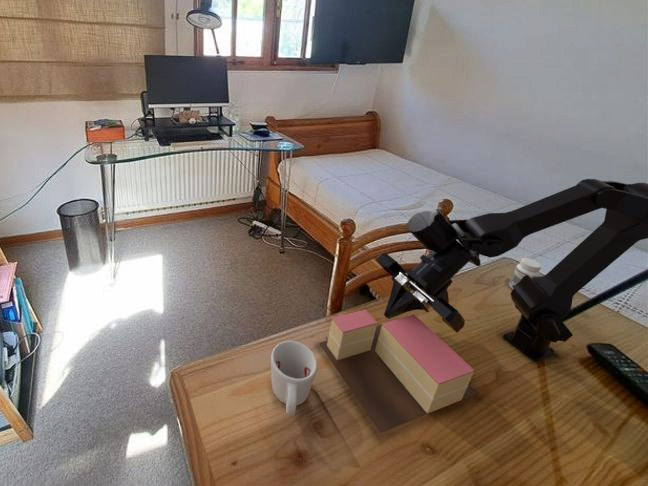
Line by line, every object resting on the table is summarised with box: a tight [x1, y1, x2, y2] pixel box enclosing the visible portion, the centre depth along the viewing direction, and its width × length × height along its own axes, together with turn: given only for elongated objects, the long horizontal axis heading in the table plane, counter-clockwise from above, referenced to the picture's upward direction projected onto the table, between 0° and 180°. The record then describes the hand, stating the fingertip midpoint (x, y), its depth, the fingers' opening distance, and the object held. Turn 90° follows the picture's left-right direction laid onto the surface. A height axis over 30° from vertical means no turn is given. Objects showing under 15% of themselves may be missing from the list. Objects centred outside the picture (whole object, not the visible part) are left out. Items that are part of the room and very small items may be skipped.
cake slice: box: [327, 309, 378, 360], centre depth 68 cm, size 8×4×8 cm, turn 108°
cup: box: [270, 340, 318, 417], centre depth 59 cm, size 11×8×8 cm
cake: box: [375, 314, 475, 415], centre depth 63 cm, size 8×13×8 cm, turn 18°
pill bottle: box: [509, 257, 542, 290], centre depth 88 cm, size 5×5×8 cm
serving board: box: [318, 324, 478, 434], centre depth 66 cm, size 22×18×1 cm
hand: (386, 317), depth 70 cm, fingers closed
